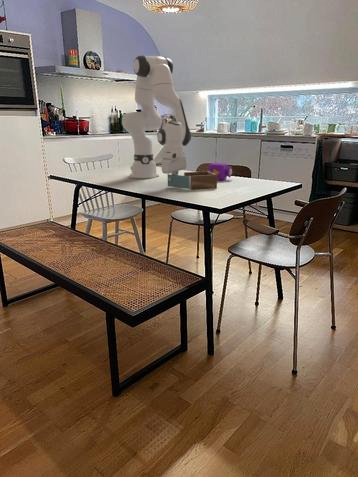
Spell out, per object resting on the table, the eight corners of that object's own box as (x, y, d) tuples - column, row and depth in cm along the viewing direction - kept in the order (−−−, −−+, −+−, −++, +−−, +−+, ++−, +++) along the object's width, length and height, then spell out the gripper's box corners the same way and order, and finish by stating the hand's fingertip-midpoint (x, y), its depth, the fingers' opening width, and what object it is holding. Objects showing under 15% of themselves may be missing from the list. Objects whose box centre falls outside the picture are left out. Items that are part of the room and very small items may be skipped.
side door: (166, 186, 201) (166, 174, 199) (168, 186, 202) (168, 174, 200) (189, 189, 193) (189, 176, 191) (191, 188, 194) (191, 176, 192)
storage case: (184, 185, 208) (184, 172, 206) (208, 183, 211) (208, 171, 209) (191, 189, 195) (191, 176, 193) (216, 187, 199) (217, 174, 196)
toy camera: (231, 181, 218) (232, 163, 215) (208, 180, 221) (208, 163, 218) (232, 178, 228) (233, 161, 225) (210, 177, 231) (210, 161, 228)
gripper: (179, 151, 206) (179, 176, 211) (159, 155, 189) (159, 182, 194) (189, 151, 203) (189, 177, 208) (169, 155, 186) (170, 183, 191)
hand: (174, 179), depth 201 cm, fingers closed
